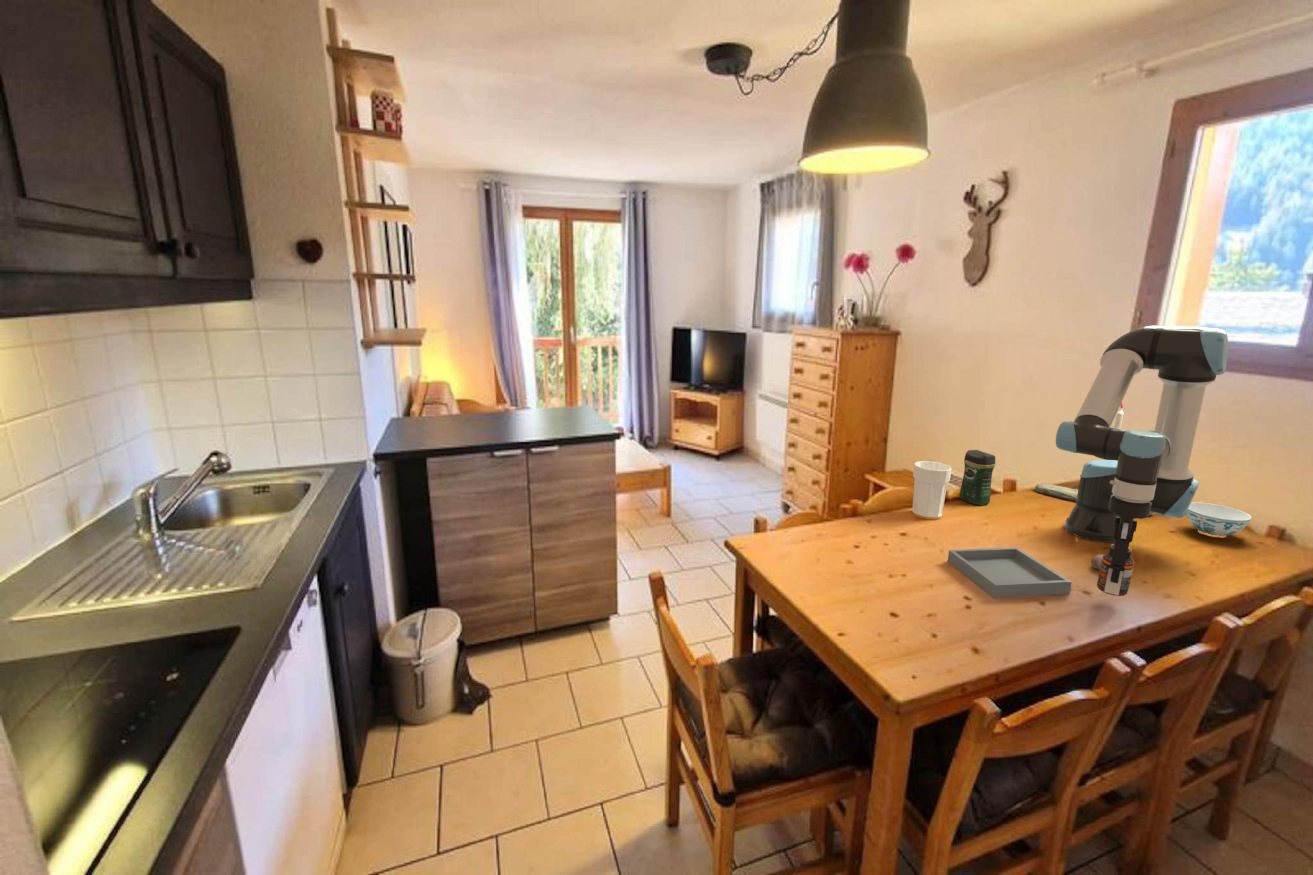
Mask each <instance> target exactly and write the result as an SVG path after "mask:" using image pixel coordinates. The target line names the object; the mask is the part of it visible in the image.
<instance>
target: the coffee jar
mask: <svg viewBox="0 0 1313 875" xmlns="http://www.w3.org/2000/svg"><path fill="white" fill-rule="evenodd" d="M963 461H964V463H963V464H964V471H963V476H962V480H961V481H962V482H961V486H960V490H959V498H960V500H962V501H965V502H967V503H968V504H969V503H970V504H973V505H978V506H979V505H980V506H985V505H988V504H990V502H991V491H992V479H993V478H992V477H993V471H994V469H995V466H996V456H995V454H991V453H987V452H985V451H981V450H978V449H969V450H967V451H966V453H965V456H964V460H963Z"/></svg>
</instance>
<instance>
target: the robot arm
mask: <svg viewBox="0 0 1313 875" xmlns="http://www.w3.org/2000/svg"><path fill="white" fill-rule="evenodd" d="M1228 353H1229V339H1228V334H1227V332H1226V331H1225V330H1223V329H1221V328H1220V329H1219V328H1210V327H1204V326H1203V327H1202V326H1200V327H1199V326H1159V325H1149V326H1144V327H1139V328H1137V329H1134V330H1132V331H1129V332H1127V333H1125V334H1123V335H1122V336H1120V337H1118V338H1117V339H1115V340H1114V341H1113V342H1112V343H1111V344H1109V345H1108V347H1107V348H1106V349H1105V350H1104V352H1103V353H1102V356H1101V358H1100V361H1099V364H1100V369H1099V371H1098V373H1097V374H1096V376H1095V378H1094V380H1093V383H1092V385H1091V387H1090V388H1089V391H1088V393H1087V394H1086V396H1085V398H1084V401H1083V402H1082V404H1081V407H1080V409H1079V410H1078V412H1077V414H1076V416H1075V418H1074V420H1073V421H1062V422H1061V423H1060V424H1059V426H1058V428H1057V430H1056V435H1055V446H1056V448H1057V449H1058V450H1062V451H1065V452H1070V453H1074V454H1082V455H1087V456H1094V457H1095V456H1100V457H1106V458H1110V459H1116V460H1106V459H1097V460H1096V459H1095V460H1090V461H1087V462H1086V463H1084V464H1083V466H1082V470H1081V473H1080V475H1079V477H1080V478H1079V479H1080V480H1079V484H1078V489H1077V490H1078V494H1077V500H1076V502H1075V505H1074V507H1073V508H1072V510H1071V512H1070V514H1069V516H1068V517H1066V519H1065V520H1064V521H1065V522H1064V530H1066V531H1067V532H1069V533H1070V534H1072V535H1074V536H1077V537H1079V538H1082V539H1087V540H1091V541H1095V542H1100V543H1101V542H1102V543H1114V545H1115V546H1114V551H1113V556H1112V561H1111V564H1110V565H1106V567H1107V568H1109V571H1108V576H1107V580H1106V585H1105V590H1104V592H1106V593H1105V594H1107V593H1110V594H1114V595H1118V596H1117V597H1120V596H1119V591H1120V586H1121V582H1122V577H1123V572H1124V570H1125V568H1124V566H1125V561H1126V557H1127V552H1128V548H1130V547H1129V546H1130V543H1133V539H1134V534H1135V532H1136V531H1137V526H1138V525H1137V524H1138V521H1137V520H1135V519H1139V520H1143V519H1146V518H1149V516H1150V515H1149V514H1150V513H1153V514H1155V515H1158V516H1161V517H1170V518H1174V519H1179V518H1180V519H1181V518H1183V517H1184V516H1186V512H1187V510H1188V508H1189V506H1190V504H1191V503H1192V501H1193V499H1194V497H1195V494H1196V492H1197V490H1198V487H1199V485H1200V481H1199V480H1197V479H1196V478H1195V479H1194V475H1195V473H1194V472H1193V470H1192V469H1191V468H1190V467H1189V466H1190V459H1191V457H1192V450H1193V448H1194V443H1195V442H1194V441H1195V439H1196V438H1195V437H1196V432H1197V428H1198V423H1199V420H1200V419H1199V418H1200V415H1201V410H1202V406H1203V401H1204V397H1205V392H1206V388H1207V386H1208V385H1210V384H1212V383H1214V382H1215V381H1216V379H1217V376H1220V375H1224V374H1225V372H1226V369H1227V361H1228V356H1229V355H1228ZM1143 369H1149V370H1156V371H1158V373H1157V377H1158V379H1159V380H1160V381H1161V382H1162V383H1163V386H1162V391H1161V395H1160V400H1159V404H1158V405H1159V406H1158V411H1157V416H1156V421H1155V426H1154V429H1153V430H1142V429H1133V430H1130V429H1122V428H1121V429H1116V428H1114V427H1111V426H1112V424H1113V421H1114V420H1115V418H1116V416H1117V412H1119V410H1120V408H1121V406H1120V405H1121V402H1122V403H1123V400H1124V397H1125V396H1126V393H1127V391H1128V389H1129V387H1130V385H1131V383H1132V381H1133V379H1134V376H1135V375H1138V374H1139V373H1140V372H1141V371H1142V370H1143ZM1117 460H1118V461H1117ZM1153 514H1152V515H1153ZM1104 592H1103V593H1104ZM1110 594H1109V595H1110ZM1114 595H1113V596H1114Z"/></svg>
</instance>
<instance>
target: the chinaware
mask: <svg viewBox="0 0 1313 875" xmlns="http://www.w3.org/2000/svg"><path fill="white" fill-rule="evenodd" d="M1185 516H1186V519H1187V521H1188V522H1189V523H1190V524H1191V525H1192V526H1193V527H1194V529H1198V530H1199V531H1201V532H1203V533H1208V534H1211V535H1219V536H1225V535H1227V536H1229V535H1234V534H1237V533H1238V532H1240V531H1242V530H1243V529H1244V528H1246V527H1247V526H1248V525H1249V523H1250V522H1251V519H1252V516H1251V515H1250V514H1248V513H1247V512H1245V511H1242V510H1240V509H1237V508H1233V507H1230V506H1226V505H1221V504H1216V503H1215V504H1214V503H1208V502H1191V504H1190V506H1189V508H1188V510H1187V512H1186V514H1185Z"/></svg>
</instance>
